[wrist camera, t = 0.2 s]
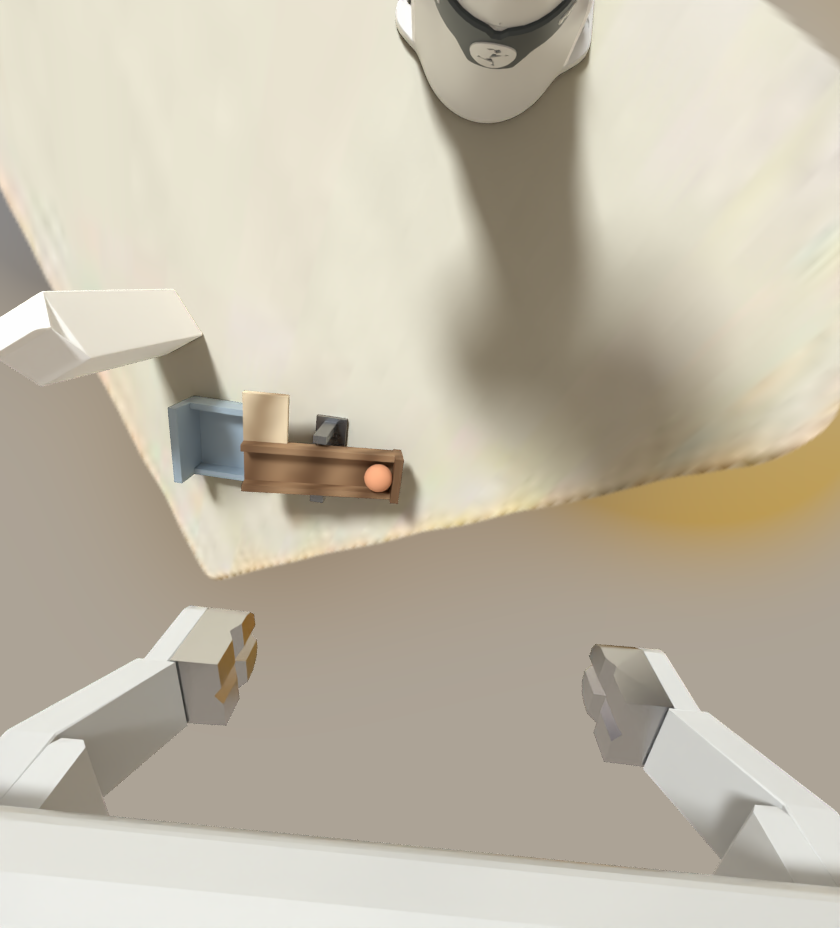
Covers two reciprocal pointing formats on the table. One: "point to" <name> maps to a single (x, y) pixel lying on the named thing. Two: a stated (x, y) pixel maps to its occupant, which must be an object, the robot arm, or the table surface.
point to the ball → (378, 478)
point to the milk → (92, 331)
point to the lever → (305, 457)
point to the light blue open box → (206, 438)
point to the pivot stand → (329, 437)
